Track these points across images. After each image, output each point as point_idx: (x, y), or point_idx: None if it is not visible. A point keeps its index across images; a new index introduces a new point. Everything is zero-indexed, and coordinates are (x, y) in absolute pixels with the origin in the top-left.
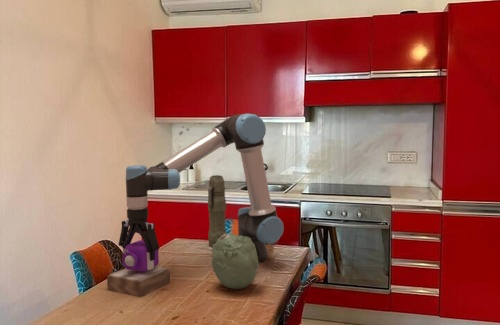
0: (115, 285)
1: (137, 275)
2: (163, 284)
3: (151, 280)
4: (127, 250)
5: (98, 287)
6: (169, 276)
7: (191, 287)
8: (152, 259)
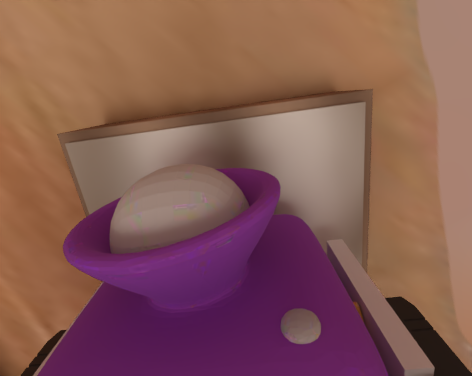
0: (281, 100)
1: None
2: None
3: None
4: (292, 327)
5: (408, 82)
6: None
7: (45, 310)
8: (49, 343)
